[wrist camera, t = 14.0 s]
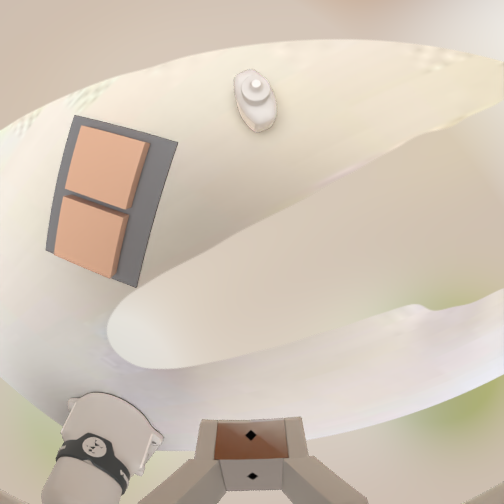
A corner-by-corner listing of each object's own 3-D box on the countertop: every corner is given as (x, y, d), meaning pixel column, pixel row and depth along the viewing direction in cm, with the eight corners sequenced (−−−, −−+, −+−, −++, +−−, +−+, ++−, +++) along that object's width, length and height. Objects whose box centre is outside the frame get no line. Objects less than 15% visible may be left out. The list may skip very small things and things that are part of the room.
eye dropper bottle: (232, 131, 34) (224, 115, 22) (237, 85, 32) (231, 50, 21) (271, 134, 34) (281, 120, 22) (275, 88, 32) (287, 55, 21)
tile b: (125, 209, 34) (64, 188, 33) (131, 207, 36) (73, 186, 35) (145, 142, 32) (81, 125, 31) (150, 143, 34) (89, 126, 33)
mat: (136, 286, 39) (136, 287, 39) (46, 249, 37) (45, 250, 37) (177, 142, 34) (177, 142, 34) (75, 115, 33) (74, 115, 32)
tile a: (110, 278, 36) (53, 254, 35) (116, 272, 38) (61, 250, 37) (123, 217, 34) (63, 196, 33) (129, 214, 36) (71, 194, 35)
